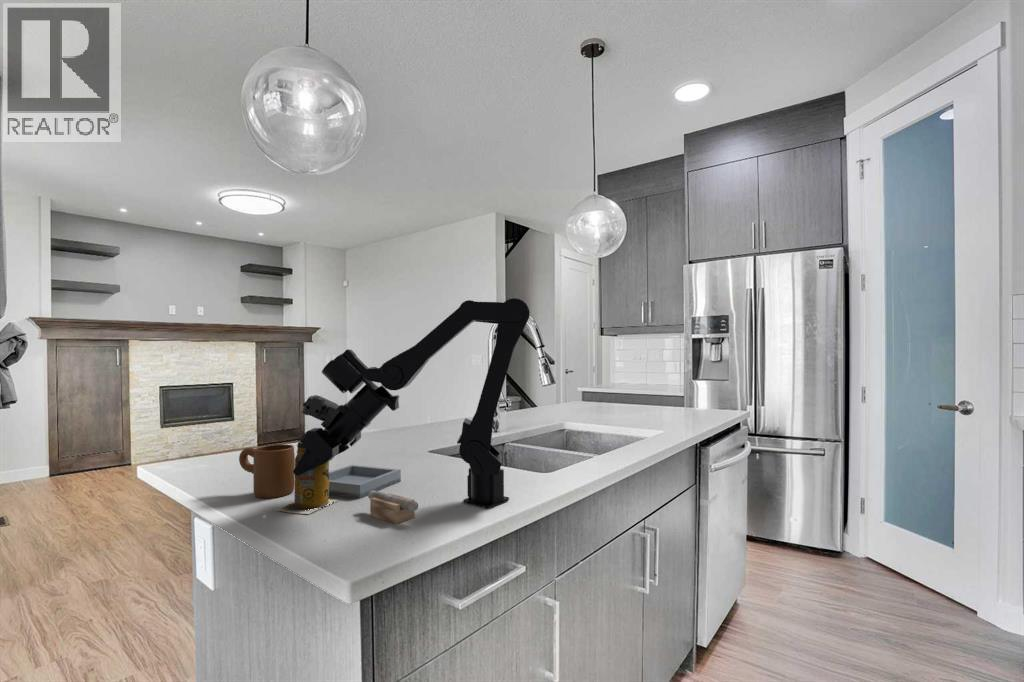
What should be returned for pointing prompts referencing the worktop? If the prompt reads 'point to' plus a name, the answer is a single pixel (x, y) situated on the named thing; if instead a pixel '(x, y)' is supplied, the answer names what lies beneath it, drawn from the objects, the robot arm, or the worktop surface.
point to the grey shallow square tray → (361, 480)
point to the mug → (270, 469)
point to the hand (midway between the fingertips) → (301, 469)
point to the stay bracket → (391, 507)
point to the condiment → (309, 488)
